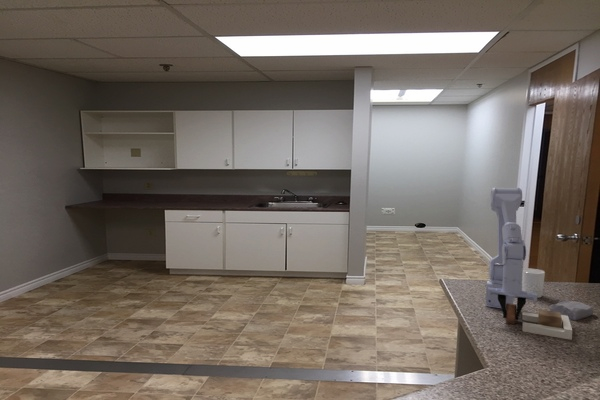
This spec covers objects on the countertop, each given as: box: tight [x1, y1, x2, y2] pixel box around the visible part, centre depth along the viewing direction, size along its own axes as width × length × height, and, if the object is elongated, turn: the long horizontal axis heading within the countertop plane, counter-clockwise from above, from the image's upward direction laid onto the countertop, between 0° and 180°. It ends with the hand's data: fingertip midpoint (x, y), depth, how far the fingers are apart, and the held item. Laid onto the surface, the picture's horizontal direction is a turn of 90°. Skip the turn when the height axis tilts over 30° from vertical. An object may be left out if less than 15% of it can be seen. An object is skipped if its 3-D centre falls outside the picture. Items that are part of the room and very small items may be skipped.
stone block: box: [549, 300, 594, 321], centre depth 142 cm, size 12×5×10 cm
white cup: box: [522, 267, 546, 299], centre depth 161 cm, size 8×8×10 cm
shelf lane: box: [521, 311, 573, 341], centre depth 130 cm, size 13×13×3 cm
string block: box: [505, 303, 562, 328], centre depth 131 cm, size 16×5×6 cm, turn 61°
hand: (510, 318), depth 134 cm, fingers closed on string block, 3 cm apart
